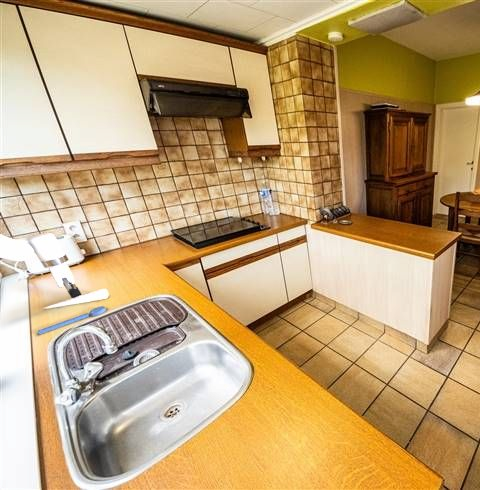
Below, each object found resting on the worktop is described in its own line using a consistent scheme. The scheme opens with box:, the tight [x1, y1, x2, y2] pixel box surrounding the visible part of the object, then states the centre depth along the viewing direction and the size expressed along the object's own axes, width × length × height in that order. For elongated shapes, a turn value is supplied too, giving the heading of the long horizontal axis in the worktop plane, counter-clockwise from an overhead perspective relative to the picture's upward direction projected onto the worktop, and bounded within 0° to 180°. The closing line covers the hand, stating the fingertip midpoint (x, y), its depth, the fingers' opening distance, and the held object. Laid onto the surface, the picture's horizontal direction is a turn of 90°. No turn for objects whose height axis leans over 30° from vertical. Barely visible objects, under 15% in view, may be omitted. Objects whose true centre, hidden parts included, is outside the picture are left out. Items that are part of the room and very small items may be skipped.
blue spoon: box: [37, 305, 107, 335], centre depth 109 cm, size 20×5×1 cm, turn 136°
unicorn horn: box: [43, 288, 109, 309], centre depth 121 cm, size 5×24×5 cm, turn 104°
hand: (76, 296), depth 123 cm, fingers closed
